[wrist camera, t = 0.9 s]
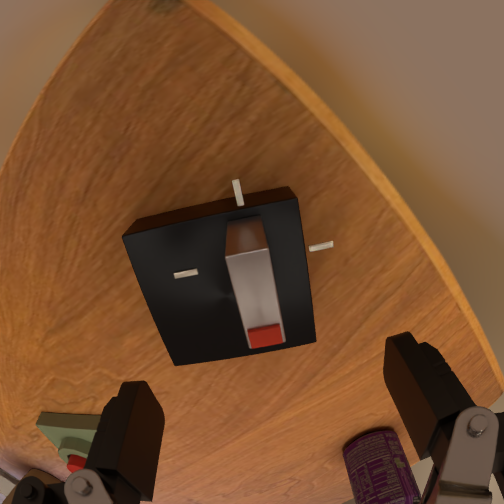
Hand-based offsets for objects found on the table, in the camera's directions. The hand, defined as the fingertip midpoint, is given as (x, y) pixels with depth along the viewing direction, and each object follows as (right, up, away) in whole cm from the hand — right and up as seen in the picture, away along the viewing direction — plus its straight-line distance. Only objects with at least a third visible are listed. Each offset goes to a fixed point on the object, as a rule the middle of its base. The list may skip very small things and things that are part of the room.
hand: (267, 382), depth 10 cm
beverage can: (+14, -19, +23) cm, 33 cm away
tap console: (-1, +4, +12) cm, 12 cm away
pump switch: (-20, -19, +20) cm, 34 cm away
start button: (-20, -20, +17) cm, 33 cm away
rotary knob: (0, +4, +8) cm, 9 cm away
